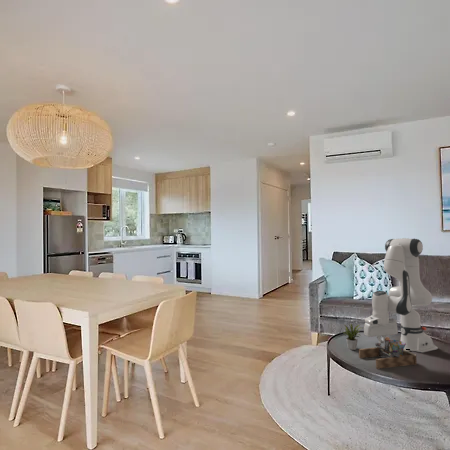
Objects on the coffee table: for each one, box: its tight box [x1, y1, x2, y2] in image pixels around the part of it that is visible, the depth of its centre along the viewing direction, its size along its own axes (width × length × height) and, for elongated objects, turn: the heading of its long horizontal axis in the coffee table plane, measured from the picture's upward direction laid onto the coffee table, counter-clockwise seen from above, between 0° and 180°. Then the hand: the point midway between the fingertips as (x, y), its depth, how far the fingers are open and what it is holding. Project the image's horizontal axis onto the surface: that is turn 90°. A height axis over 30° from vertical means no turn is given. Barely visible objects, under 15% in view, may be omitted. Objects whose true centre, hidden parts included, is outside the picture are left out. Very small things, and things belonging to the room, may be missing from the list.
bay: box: [358, 345, 418, 370], centre depth 195 cm, size 25×19×6 cm
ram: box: [375, 336, 400, 358], centre depth 195 cm, size 3×19×13 cm, turn 11°
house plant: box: [342, 323, 362, 351], centre depth 217 cm, size 14×14×16 cm
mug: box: [389, 339, 406, 356], centre depth 196 cm, size 12×9×11 cm
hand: (381, 343), depth 195 cm, fingers closed
